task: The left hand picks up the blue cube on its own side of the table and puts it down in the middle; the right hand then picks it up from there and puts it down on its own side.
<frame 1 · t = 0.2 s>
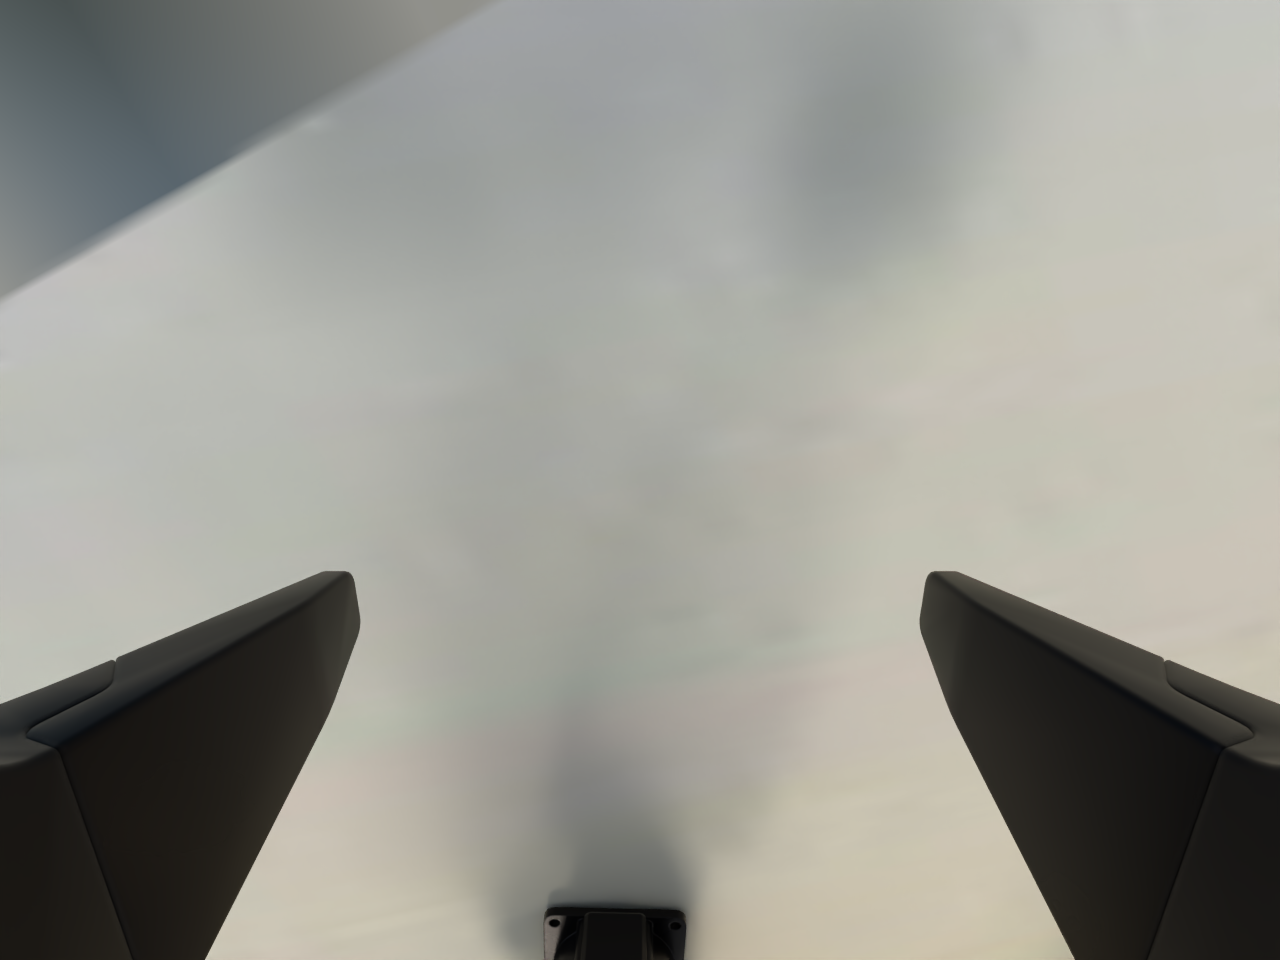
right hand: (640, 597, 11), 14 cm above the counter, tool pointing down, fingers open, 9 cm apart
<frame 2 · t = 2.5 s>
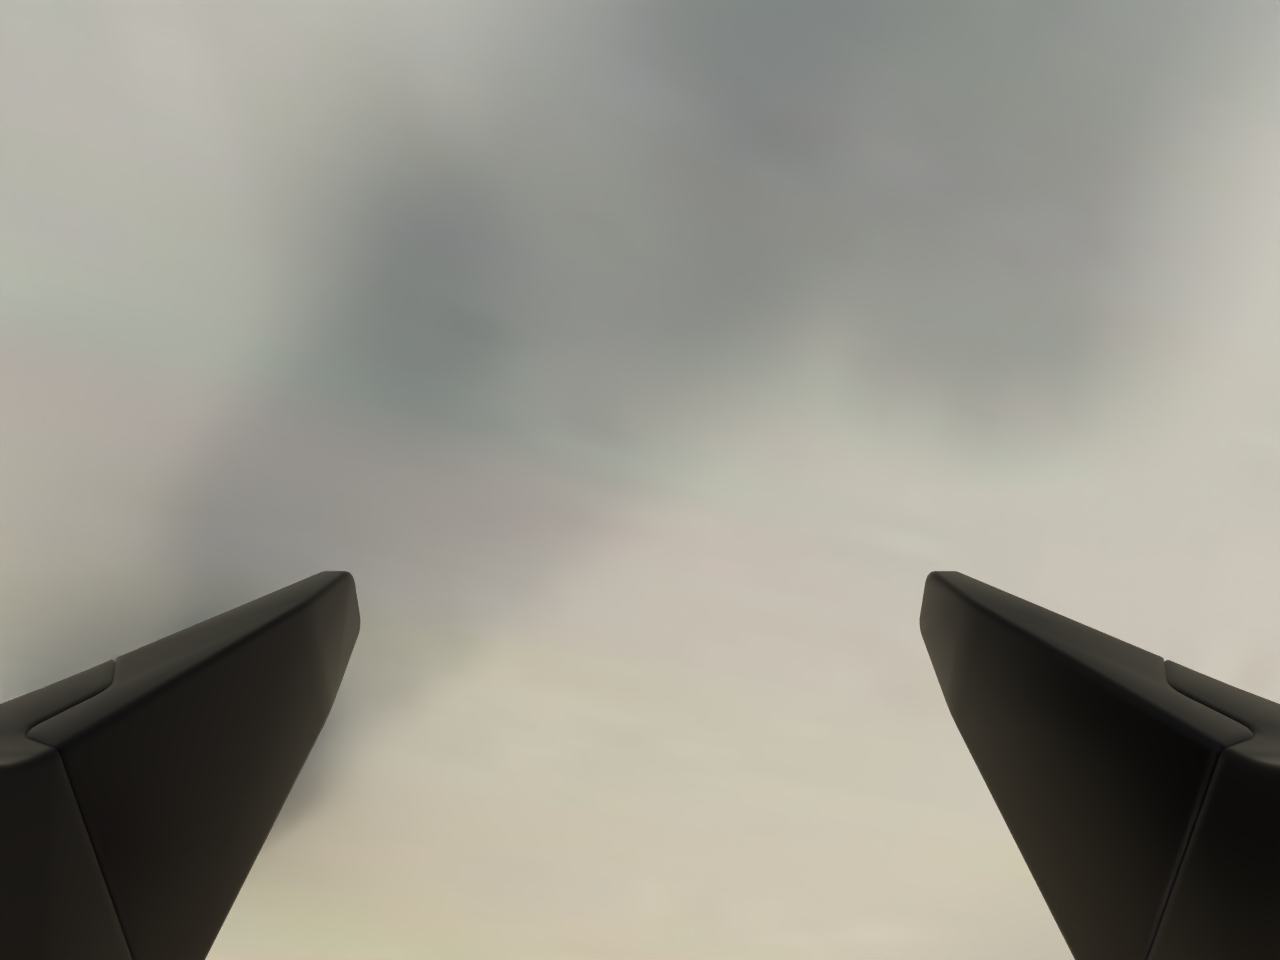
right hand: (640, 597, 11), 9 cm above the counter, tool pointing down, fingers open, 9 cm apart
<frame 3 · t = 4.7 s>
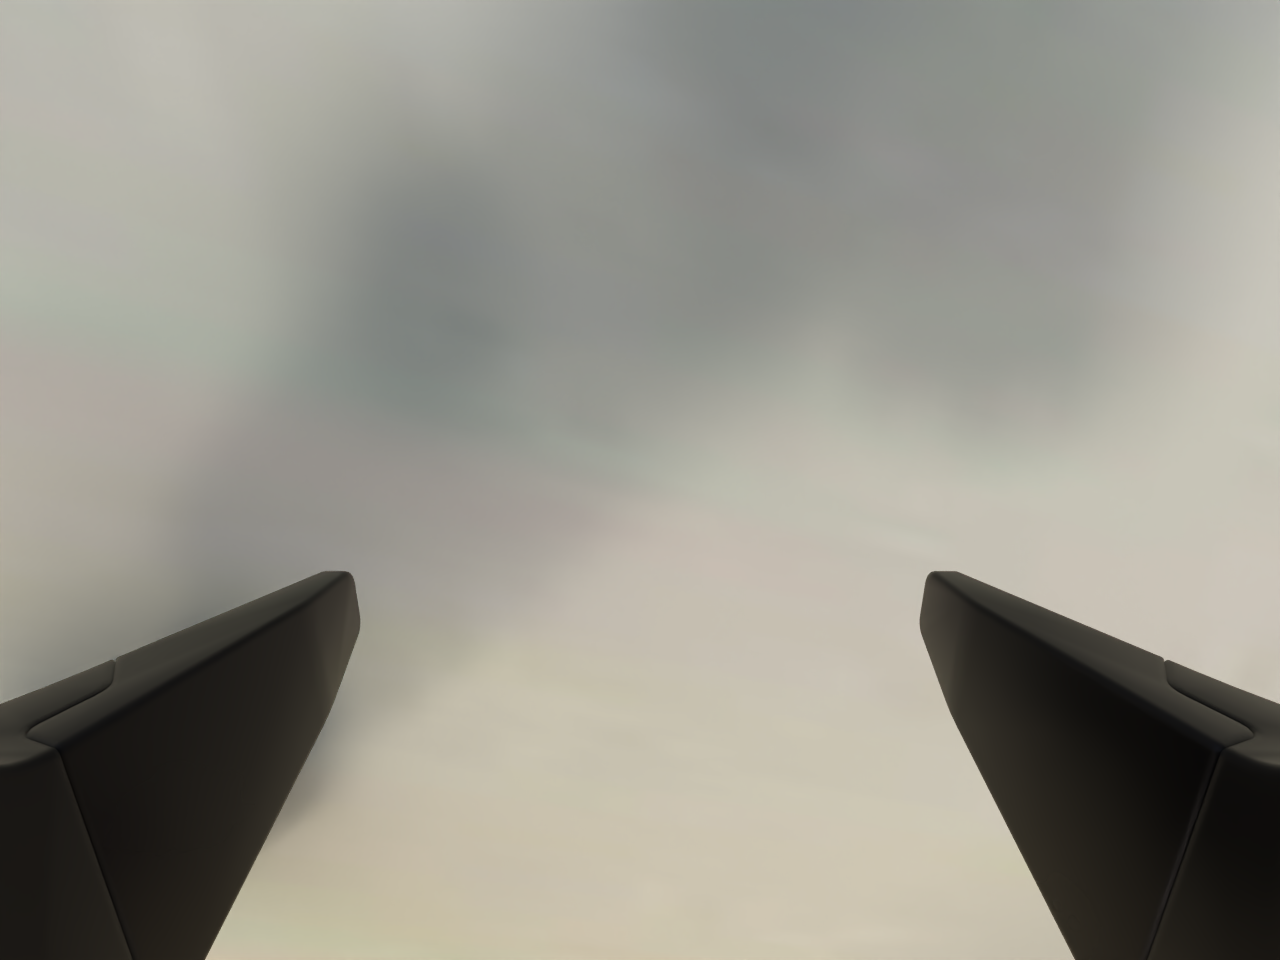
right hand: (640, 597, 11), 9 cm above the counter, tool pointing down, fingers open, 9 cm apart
when the left hand's fingers open (3 cm above the counter, at t = 7.2 s): blue cube stays where it is, on the counter.
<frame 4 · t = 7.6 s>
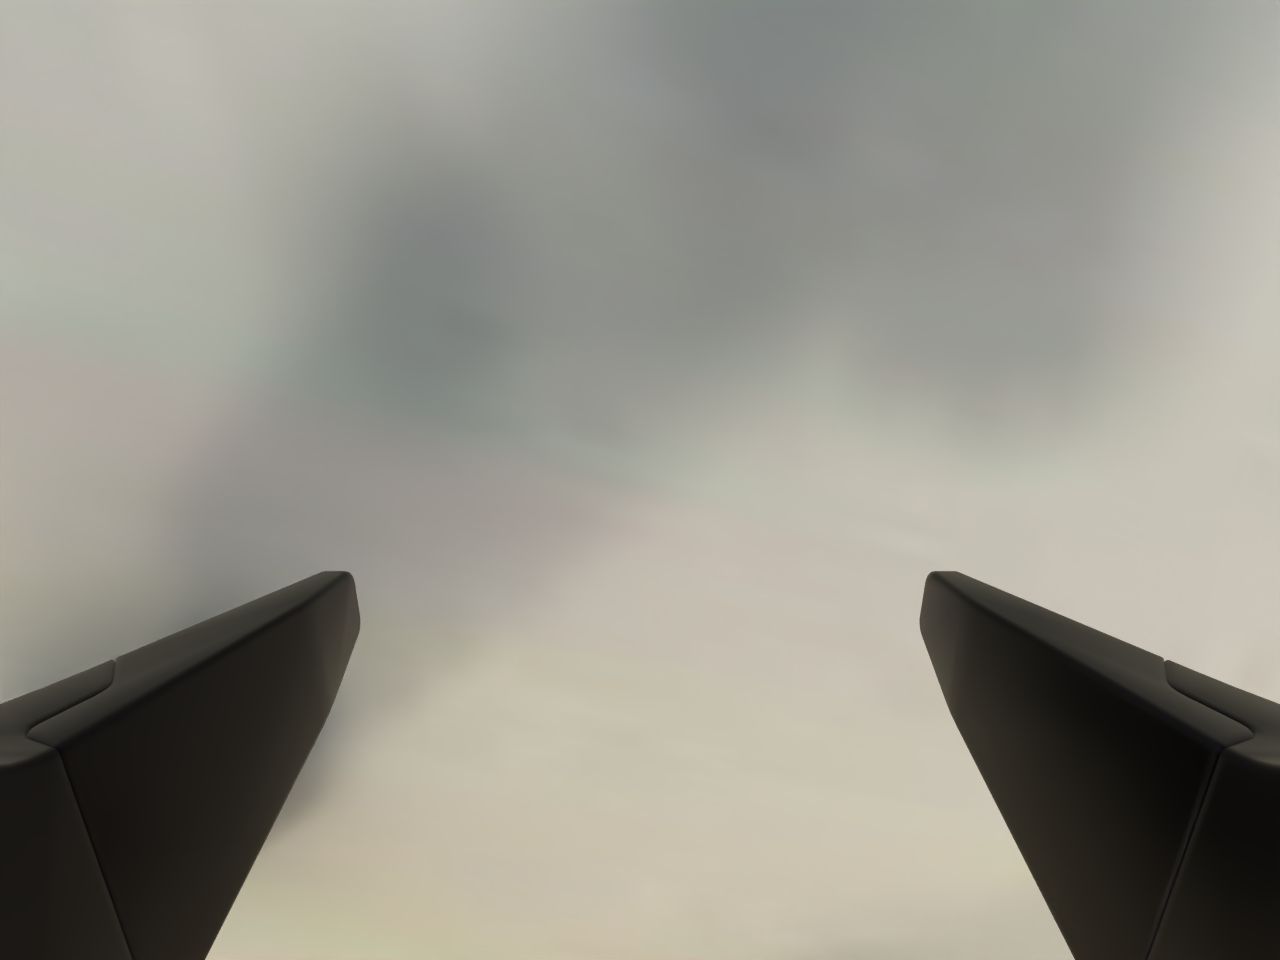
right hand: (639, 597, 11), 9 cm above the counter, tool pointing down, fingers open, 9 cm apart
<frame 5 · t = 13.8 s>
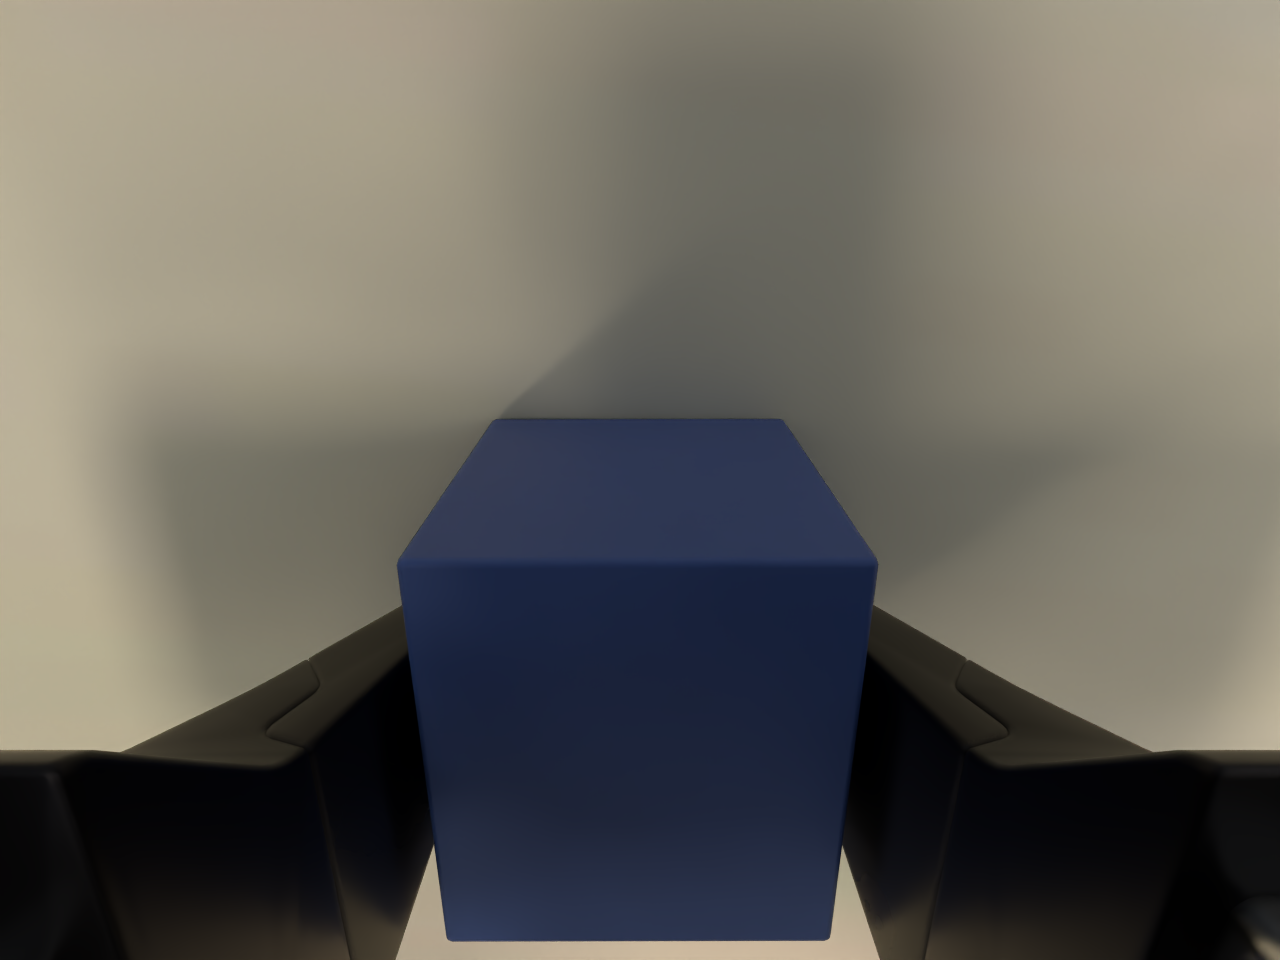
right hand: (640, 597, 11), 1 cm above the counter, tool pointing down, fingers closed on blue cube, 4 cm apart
blue cube: (638, 562, 12), on the counter, touching right hand
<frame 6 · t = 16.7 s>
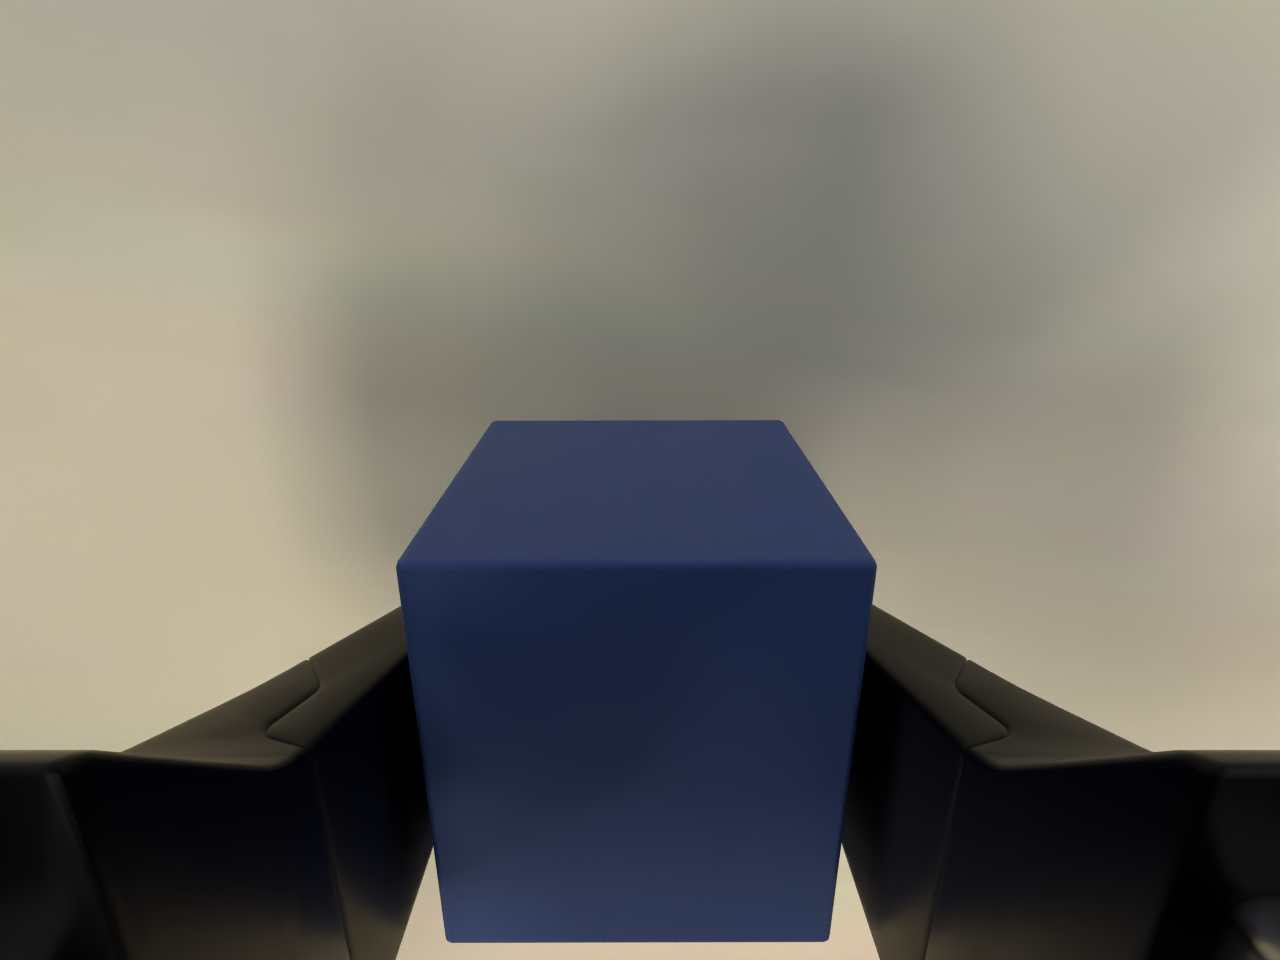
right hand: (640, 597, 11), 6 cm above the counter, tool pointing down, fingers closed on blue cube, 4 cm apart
blue cube: (637, 563, 12), point 5 cm above the counter, touching right hand
when the right hand's fingers open (2 cm above the counter, at t = 19.9 s): blue cube stays where it is, on the counter.
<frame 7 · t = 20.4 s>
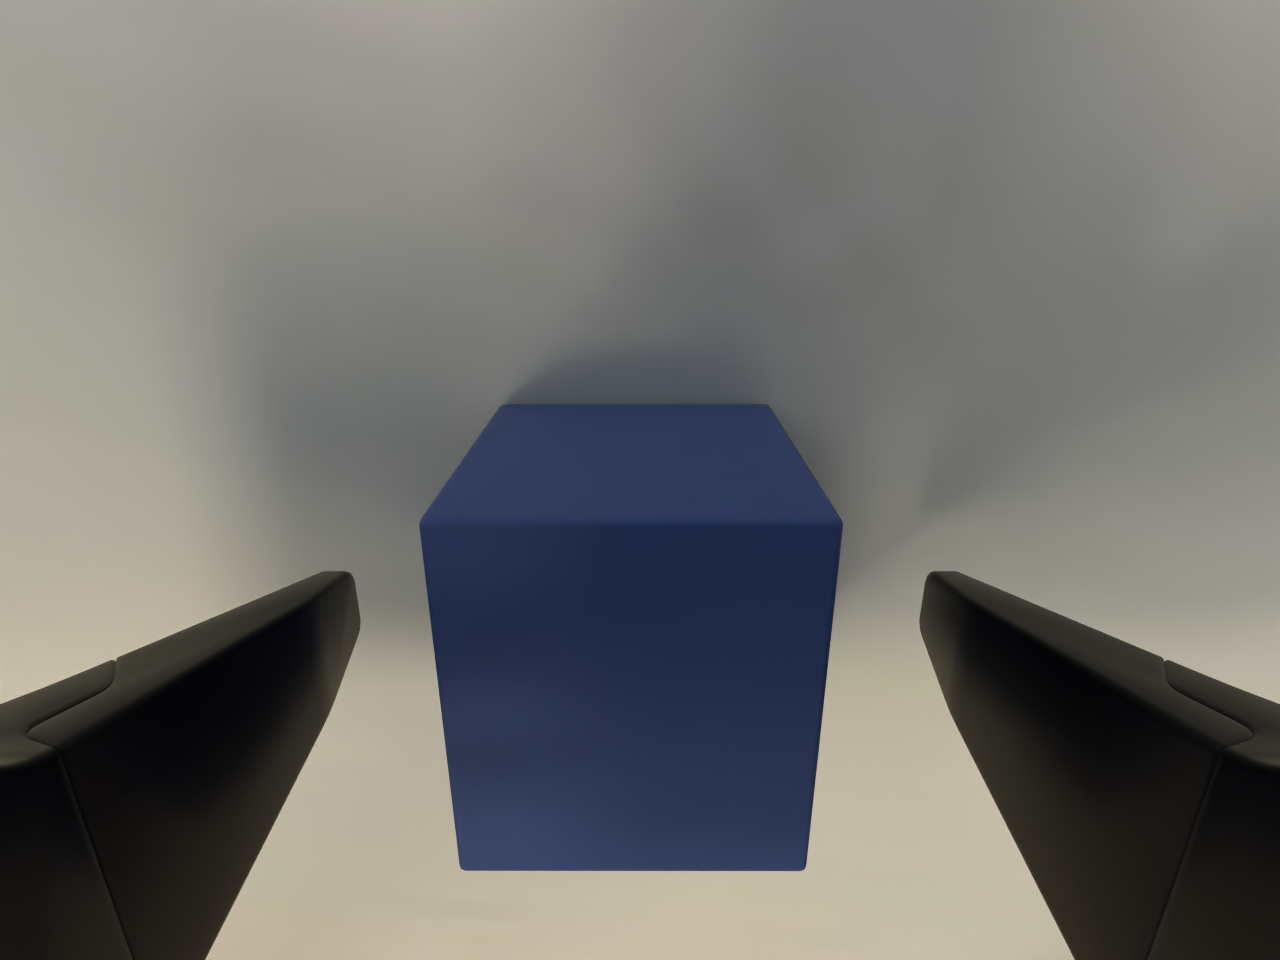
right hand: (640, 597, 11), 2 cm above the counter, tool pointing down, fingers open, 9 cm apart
blue cube: (635, 538, 13), on the counter
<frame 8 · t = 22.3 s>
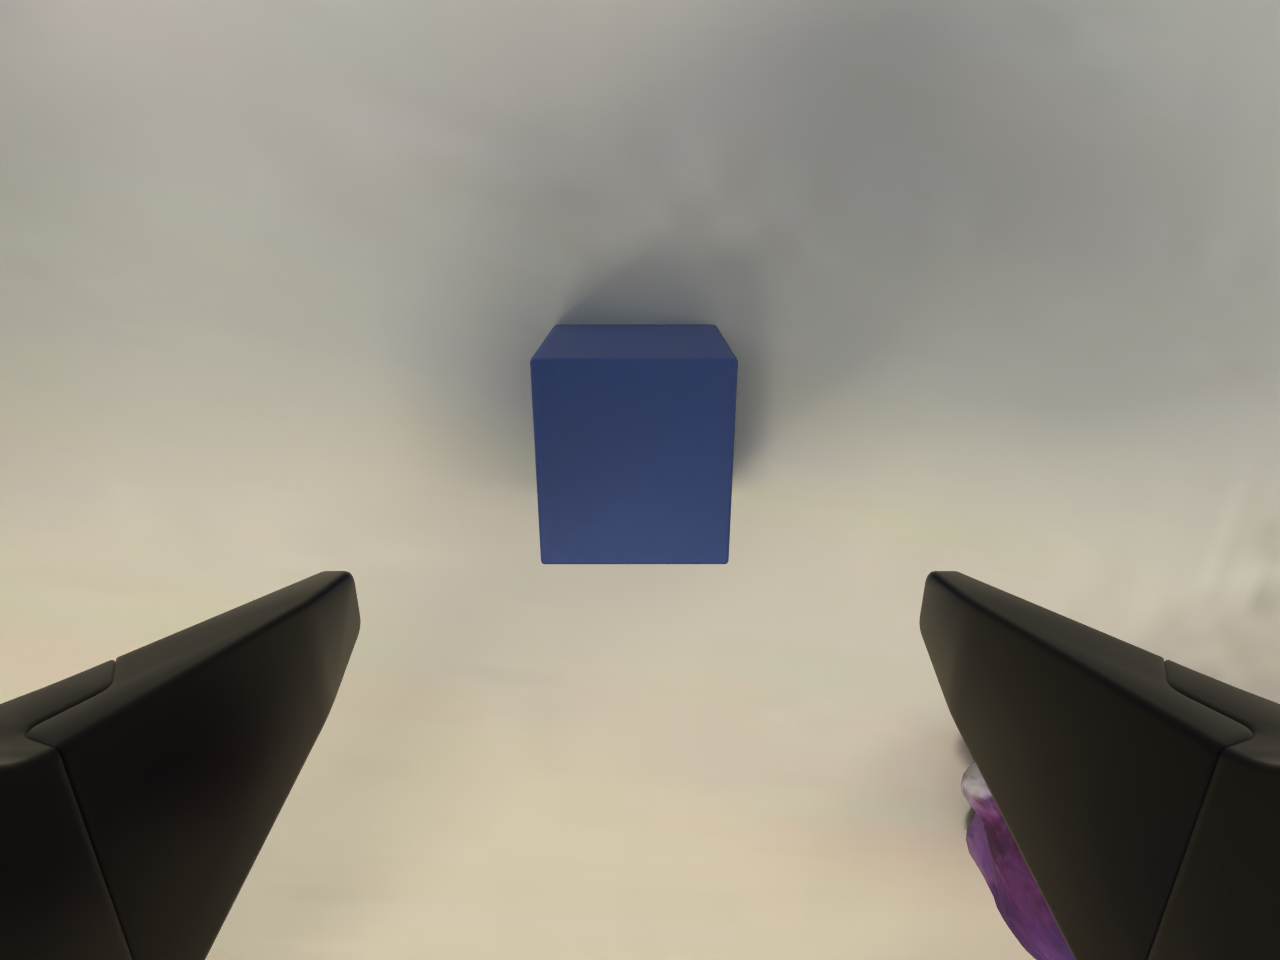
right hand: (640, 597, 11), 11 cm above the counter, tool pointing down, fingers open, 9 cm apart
figurine: (1092, 788, 27), on the counter
blue cube: (635, 411, 22), on the counter
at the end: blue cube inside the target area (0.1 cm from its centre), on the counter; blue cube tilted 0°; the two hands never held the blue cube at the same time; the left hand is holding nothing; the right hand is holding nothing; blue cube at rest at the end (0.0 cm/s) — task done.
